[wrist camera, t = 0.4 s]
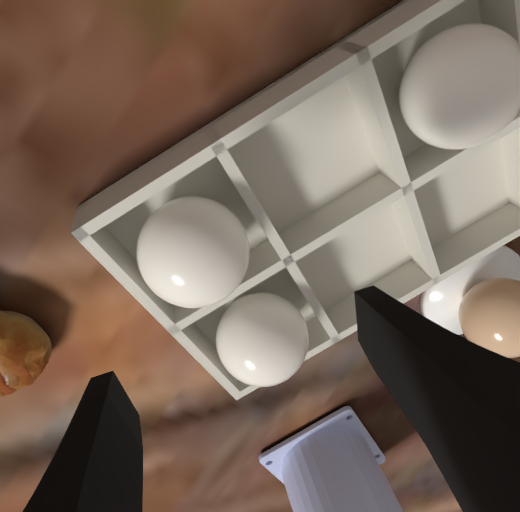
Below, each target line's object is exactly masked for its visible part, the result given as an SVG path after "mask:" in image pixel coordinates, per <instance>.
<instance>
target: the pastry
mask: <svg viewBox="0 0 520 512" xmlns="http://www.w3.org/2000/svg"><path fill="white" fill-rule="evenodd" d="M51 348H52V346H51V341H50V338H49V337H48V335H47V334H46V333H45V331H44V330H43V329H42V328H41V327H40V326H39V325H38V324H37V323H36V322H35V321H34V320H33V319H32V318H30V317H28V316H26V315H23V314H20V313H18V312H14V311H2V310H0V397H1V396H5V395H9V394H12V393H14V392H15V391H16V390H18V389H20V388H22V387H24V386H29V385H31V384H32V383H33V382H34V381H35V380H36V378H37V377H38V376H39V375H40V374H41V373H42V372H43V370H44V368H45V366H46V365H47V363H48V361H49V358H50V356H51Z"/></svg>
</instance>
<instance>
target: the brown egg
mask: <svg viewBox="0 0 520 512" xmlns="http://www.w3.org/2000/svg"><path fill="white" fill-rule="evenodd" d="M458 317H459V323H460V327H461V329H462V332H463V334H464V335H465V337H466V338H467V339H468V340H469V341H471V342H473V343H475V344H477V345H479V346H481V347H484V348H486V349H488V350H491V351H493V352H495V353H498V354H500V355H502V356H505V357H507V358H515V357H520V281H519V280H515V279H511V278H491V279H487V280H484V281H482V282H479V283H477V284H476V285H474V286H473V287H472V288H470V289H469V290H468V291H467V293H466V294H465V295H464V297H463V299H462V301H461V303H460V306H459V312H458Z"/></svg>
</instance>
